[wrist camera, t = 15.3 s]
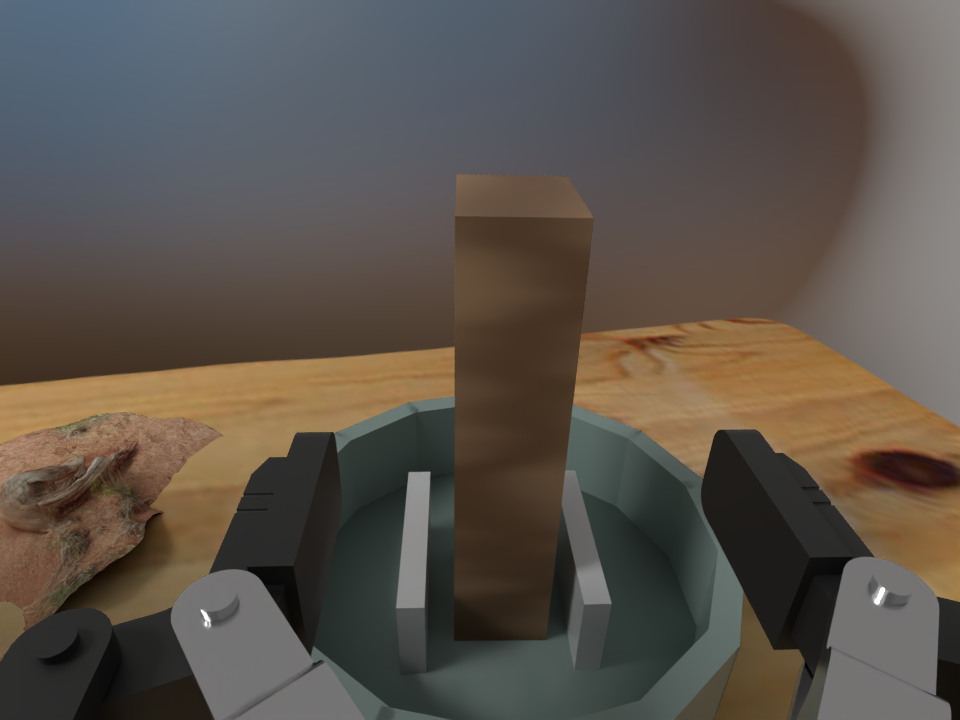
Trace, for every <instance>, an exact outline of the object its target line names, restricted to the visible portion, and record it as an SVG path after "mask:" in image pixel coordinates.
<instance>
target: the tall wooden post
mask: <svg viewBox="0 0 960 720" xmlns="http://www.w3.org/2000/svg"><path fill="white" fill-rule="evenodd" d="M593 222H594V218H593V216H592V214H591V213H590V211H589V210H588V208H587V207H586V205H585V204H584V202H583V200H582V199H581V197H580V196H579V194H578V193H577V191H576V190H575V189H574V187H573V185H572V184H571V182H570V180H569V179H568V177H567V176H526V175H525V176H524V175H467V174H464V175H463V174H458V175H457V182H456V208H455V477H454V641H514V640H546V636H547V627H548V618H549V609H550V601H551V592H552V583H553V574H554V565H555V557H556V548H557V539H558V530H559V521H560V513H561V504H562V495H563V486H564V478H565V469H566V460H567V451H568V442H569V434H570V425H571V416H572V407H573V398H574V390H575V381H576V372H577V363H578V354H579V346H580V337H581V328H582V318H583V309H584V302H585V293H586V284H587V275H588V266H589V258H590V249H591V240H592V231H593Z"/></svg>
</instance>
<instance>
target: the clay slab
mask: <svg viewBox="0 0 960 720" xmlns="http://www.w3.org/2000/svg"><path fill="white" fill-rule="evenodd" d="M222 436H223V435H221V434H219V433H218V432H216V431H214V430H212V429H209V428H208V426H206V425H203V424H201V423H197V422H195V421H192V420H190V419H185V418H169V419H161V418H149V417H147V416H143V415H136V414H134V413H127V412H122V413H114V414H108V413H107V414H101V415H95V416H91V417H88V418H85V419H83V420H80V421H78V422H75V423H72V424H68V425H65V426H61V427H56V428H51V429H42V430H39V431H35V432H32V433H28V434H25V435H22V436H19V437H17V438H15V439H12V440H10V441H8V442H5V443H3V444H0V601H7V602H12V603H14V604H15V605H17V606H18V607H20V608H21V609H23V610H24V611H25V612H24V614H23V615H24V618H25V623H26V626H25V628H24V630H28V629H29V628H31V627H32V626H33V625H35V624H36V623H38V622H40V621H42V620H43V619H45V618H47V617H50V616H52V615H53V614H54V613H55V612H56V611H57V610H58V609H59V608H60V606H61V605H62V604H63V603H64V601H65V600H66V599H67V597H68V596H69V595H70V594H72V593H73V592H75V591H76V590H77V588H78V587H79V586H81V585H82V584H84V583H85V582H87V581H89V580H90V579H92V578H93V577H94V576H95V575H96V574H97V573H98V572H100V571H102V570H103V569H104V568H105V567H106V566H107V565H109V564H110V563H111V562H113V561H115V560H117V559H119V558H121V557H123V556H124V555H126V554H127V553H128V552H130V551H131V550H132V548H134V547H135V546H137V545H138V544H139V542H140V541H141V540H142V539H143V537H144V533H145V529H144V526H145V525H146V521H147V520H148V519H150V518H151V516H152V515H153V514H156V513H163V512H161V511H158V510H155V509H152V508H150V507H149V505H150V504H152V503H153V502H154V501H155V500H156V499H157V496H158V495H159V494H160V493H161V491H162V490H163V489H164V488H165V487H166V486H167V485H168V483H169V482H170V481H171V477H172V476H173V474H175V473H177V472H179V470H180V468H181V467H182V466H183V465H184V464H185V462H186V459H188V458H189V457H191V456H192V455H194V454H195V453H196V452H198V451H199V450H201V449H202V448H204V447H205V446H206V445H208V444H209V443H210V442H211V441H213V440H215V439H217V438H219V437H222Z"/></svg>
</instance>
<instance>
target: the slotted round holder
mask: <svg viewBox="0 0 960 720" xmlns="http://www.w3.org/2000/svg"><path fill="white" fill-rule="evenodd" d="M335 438H336V445H337V454H338V463H339V472H340V481H341V490H342V509H341V518H340V524H339V528H338V533H337V538H336V542H335V547H334V552H333V556H332V561H331V566H330V570H329V575H328V580H327V584H326V589H325V594H324V598H323V603H322V608H321V612H320V617H319V622H318V626H317V631H316V636H315V640H314V645H313V650H312V654H311V658H312V659H313V661H314V662H318V661H319V660H323V661H325V662H326V663H327V664H328V665H329V667H330V668H331V669H332V670H333V672H334V673H335V675H336V676H337V678H338V679H339V681H340V682H341V684H342V685H343V687H344V688H345V690H346V691H347V693H348V694H349V696H350V697H351V699H352V700H353V702H354V703H355V705H356V706H357V708H358V709H359V711H360V712H361V714H362V715H363V717H364V718H365V720H714V719H715V716H716V713H717V710H718V708H719V705H720V702H721V699H722V696H723V693H724V690H725V688H726V685H727V682H728V679H729V676H730V673H731V671H732V668H733V665H734V662H735V659H736V656H737V653H738V651H739V648H740V634H741V620H742V605H743V589H742V587H741V585H740V583H739V581H738V579H737V577H736V575H735V573H734V571H733V569H732V567H731V565H730V563H729V561H728V559H727V558H726V556H725V554H724V552H723V550H722V548H721V546H720V544H719V542H718V540H717V538H716V536H715V534H714V532H713V530H712V528H711V526H710V525H709V523H708V521H707V519H706V517H705V514H704V512H703V508H702V503H701V487H702V482H703V479H702V478H701V477H699V476H698V475H697V474H695V473H694V472H693V471H692V470H690V469H689V468H688V467H687V466H685V465H684V464H683V463H681V462H680V461H679V460H678V459H676V458H675V457H674V456H673V455H671V454H670V453H669V452H667V451H666V450H665V449H664V448H662V447H661V446H660V445H658V444H657V443H656V442H655V441H653V440H652V439H651V438H650V437H648V436H647V435H646V434H644V433H643V432H642V431H641V430H638V429H635V428H632V427H630V426H627V425H625V424H622V423H619V422H617V421H614V420H612V419H609V418H606V417H604V416H601V415H599V414H596V413H593V412H591V411H588V410H586V409H583V408H580V407H578V406H575V405H573V407H572V416H571V425H570V434H569V442H568V451H567V460H566V469H565V478H564V486H563V495H562V504H561V513H560V521H559V530H558V539H557V548H556V557H555V565H554V574H553V583H552V592H551V601H550V609H549V618H548V627H547V636H546V640H514V641H454V477H455V397H447V398H439V399H431V400H423V401H416V402H408V403H406V404H403V405H401V406H398V407H396V408H394V409H391V410H389V411H386V412H384V413H382V414H379V415H377V416H375V417H372V418H370V419H367V420H365V421H363V422H360V423H358V424H355V425H353V426H351V427H348V428H346V429H344V430H341V431H339V432H336V433H335Z"/></svg>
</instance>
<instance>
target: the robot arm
mask: <svg viewBox="0 0 960 720" xmlns="http://www.w3.org/2000/svg"><path fill="white" fill-rule="evenodd" d="M243 494H244V496H243V497H242V498H241V500H240V503H239V505H238V507H237V513H235V514H234V517H233V519H232V521H231V524H230V526H229V528H228V531H227V533H226V535H225V538H224V540H223V542H222V545H221V547H220V549H219V552H218V554H217V556H216V559H215V561H214V563H213V566H212V568H211V570H210V573H209V574H208V575H206V576H204V577H202V578H200V579H199V580H197V581H195V582H194V583H193V584H191V585H190V586H189V587H188V588H186V589H185V590H184V591H183V592H182V594H181V595H180V596H179V597H178V599H177V600H176V602H175V604H174V606H173V607H171V608H169V609H167V610H165V611H162V612H159V613H156V614H153V615H149V616H146V617H142V618H139V619H135V620H131V621H128V622H124V623H121V624H117V625H114V626H112V625H111V622H110V620H109V618H108V617H107V616H106V615H105V614H104V613H102V612H101V611H98V610H95V609H90V608H77V609H70V610H66V611H62V612H60V613H57V614H54V615H52V616H50V617H47V618H45V619H43V620H42V621H40V622H38V623H36V624H35V625H33V626H32V627H31V628H29V629H28V630H26V631H25V632H24V633H23V634H22V635H21V636H20V637H19V638H18V639H17V640H16V641H15V642H14V643H13V644H12V645H11V647H10V648H9V649H8V651H7V652H6V654H5V655H4V657H3V659H2V660H1V662H0V720H365V718H364V717H363V715H362V714H361V712H360V711H359V709H358V708H357V706H356V705H355V703H354V702H353V700H352V699H351V697H350V696H349V694H348V693H347V691H346V690H345V688H344V687H343V685H342V684H341V682H340V681H339V679H338V678H337V676H336V675H335V673H334V672H333V670H332V669H331V668H330V667H329V665H328V664H327V663H326V662H325V661H323V660H319V661H318V662H314V661H313V659H312V658H311V654H312V650H313V645H314V640H315V636H316V631H317V626H318V622H319V617H320V612H321V608H322V603H323V598H324V594H325V589H326V584H327V580H328V575H329V570H330V566H331V561H332V556H333V552H334V547H335V542H336V538H337V533H338V528H339V524H340V518H341V509H342V490H341V481H340V472H339V463H338V454H337V445H336V438H335V434H334V433H333V432H305V433H296V434H295V436H294V439H293V442H292V444H291V447H290V450H289V453H288V455H287V457H269V458H268V459H267V460H266V461H265V462H264V463H263V464H262V465H261V466H260V467H259V468H258V469H257V470H256V471H255V472H254V473H253V474H252V475H251V477H250V480H249V482H248V484H247V487H246V489H245V491H244V493H243ZM701 503H702V508H703V512H704V514H705V517H706V519H707V521H708V523H709V525H710V526H711V528H712V530H713V532H714V534H715V536H716V538H717V540H718V542H719V544H720V546H721V548H722V550H723V552H724V554H725V556H726V558H727V559H728V561H729V563H730V565H731V567H732V569H733V571H734V573H735V575H736V577H737V579H738V581H739V583H740V585H741V587H742V589H743V591H744V592H745V594H746V596H747V598H748V600H749V602H750V604H751V606H752V608H753V610H754V612H755V614H756V616H757V618H758V620H759V622H760V624H761V625H762V627H763V629H764V631H765V633H766V635H767V637H768V639H769V641H770V643H771V645H772V647H773V649H774V650H784V649H799V650H800V652H801V654H802V656H803V658H804V661H803V664H802V666H801V668H800V671H799V675H798V679H797V682H796V686H795V690H794V694H793V698H792V702H791V706H790V710H789V714H788V718H787V720H960V602H957V601H953V600H949V599H944V598H940V597H936V596H935V594H934V592H933V591H932V590H931V589H930V587H929V586H928V585H927V584H926V583H925V582H924V581H923V580H922V579H920V578H919V577H918V576H917V575H915V574H914V573H912V572H911V571H909V570H908V569H906V568H904V567H902V566H900V565H898V564H896V563H893V562H890V561H887V560H884V559H880V558H875V557H874V556H873V554H872V553H871V552H870V551H869V549H868V548H867V547H866V546H865V544H864V543H863V542H862V541H861V539H860V538H859V537H858V535H857V534H856V533H855V532H854V530H853V529H852V528H851V527H850V525H849V524H848V523H847V522H846V520H845V519H844V518H843V516H842V515H841V514H840V513H839V511H838V510H837V509H836V508H835V506H831V501H830V500H829V499H828V497H827V496H826V495H825V494H824V492H823V491H822V490H819V486H818V485H817V484H816V482H815V481H814V480H813V478H812V477H811V476H810V475H809V473H808V472H807V471H806V470H805V468H803V467H802V466H800V465H799V464H797V463H796V462H795V461H793V460H792V459H790V458H789V457H788V456H786V455H785V454H783V453H775V452H774V451H773V449H772V448H771V447H770V445H769V444H768V443H767V441H766V440H765V439H764V437H763V436H762V435H761V433H760V432H759V431H757V430H719V431H717V432H716V434H715V436H714V439H713V443H712V447H711V450H710V454H709V458H708V462H707V466H706V470H705V474H704V478H703V482H702V487H701Z"/></svg>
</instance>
